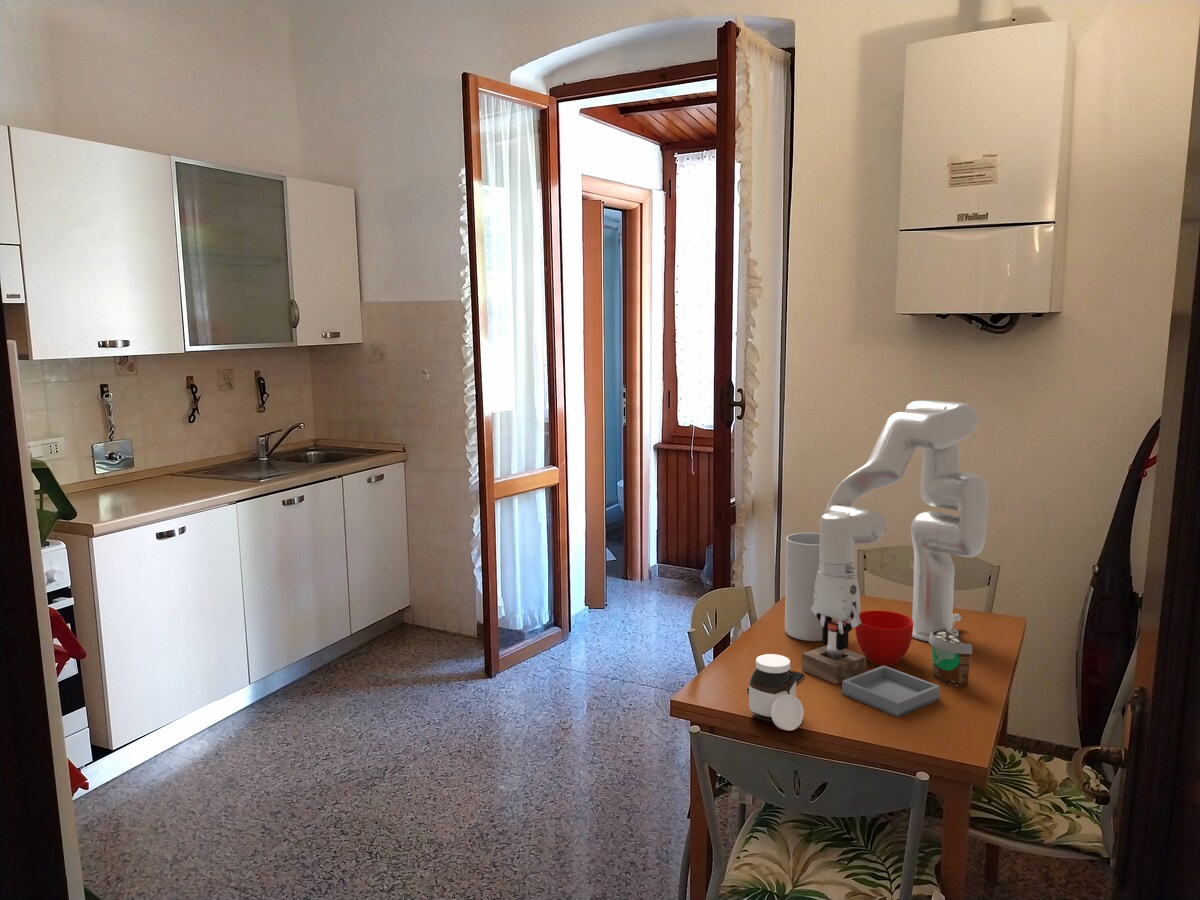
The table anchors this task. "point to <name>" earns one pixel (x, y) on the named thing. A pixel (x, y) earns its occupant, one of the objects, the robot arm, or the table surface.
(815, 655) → the walnut socket block
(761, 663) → the jar and lid
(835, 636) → the steel pin
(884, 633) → the red bowl
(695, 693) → the table surface
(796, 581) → the cylinder vase
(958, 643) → the food container
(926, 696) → the slate tray
